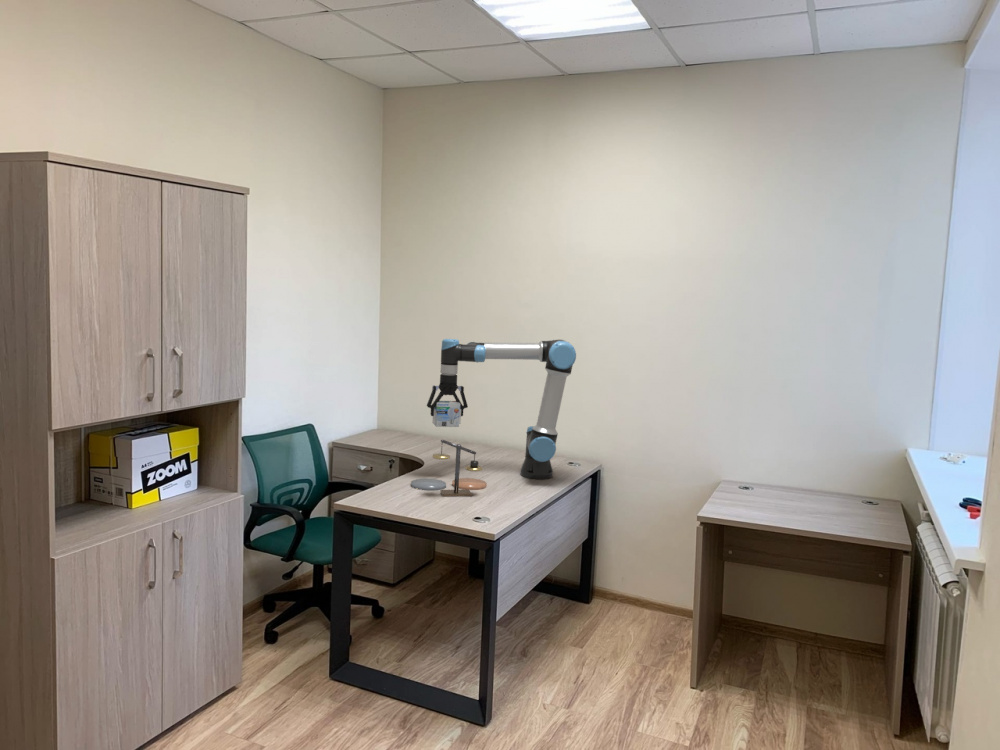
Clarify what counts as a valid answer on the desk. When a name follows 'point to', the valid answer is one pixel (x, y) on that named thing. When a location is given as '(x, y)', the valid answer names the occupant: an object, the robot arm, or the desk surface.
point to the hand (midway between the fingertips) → (446, 423)
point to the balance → (472, 467)
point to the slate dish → (428, 484)
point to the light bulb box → (447, 414)
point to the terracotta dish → (471, 484)
